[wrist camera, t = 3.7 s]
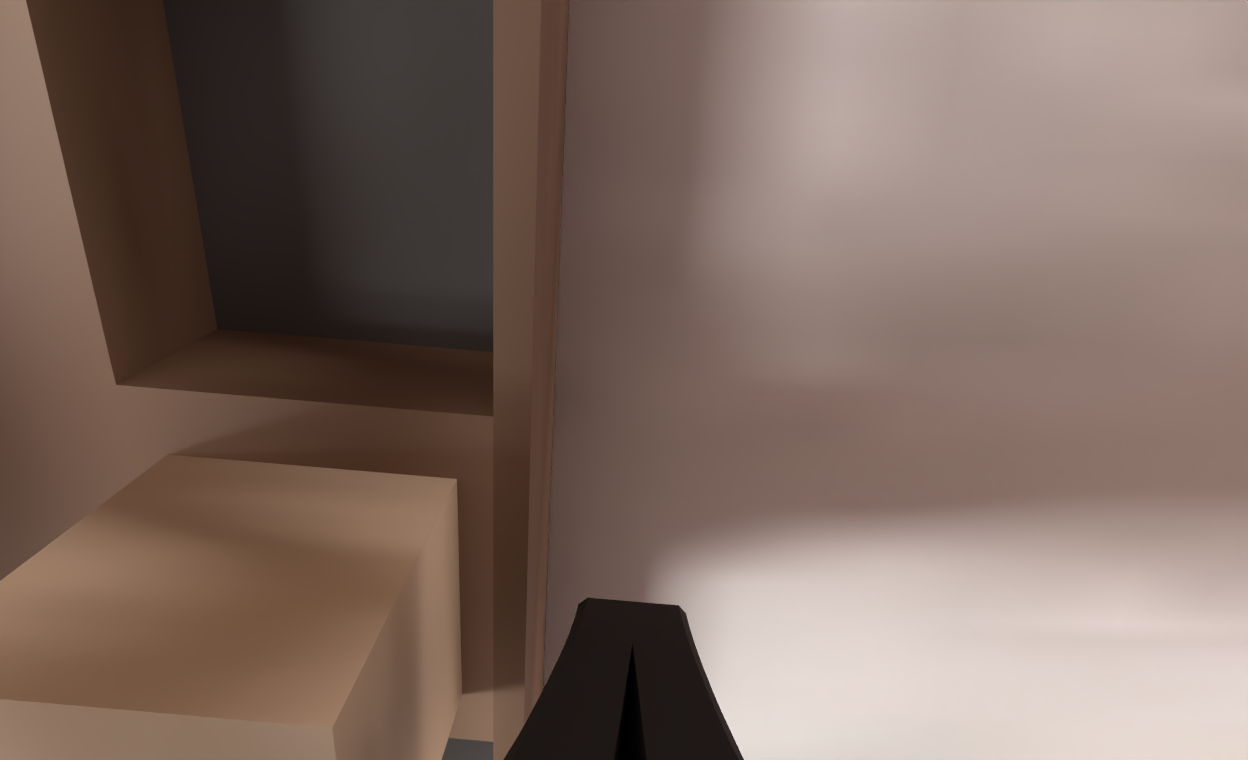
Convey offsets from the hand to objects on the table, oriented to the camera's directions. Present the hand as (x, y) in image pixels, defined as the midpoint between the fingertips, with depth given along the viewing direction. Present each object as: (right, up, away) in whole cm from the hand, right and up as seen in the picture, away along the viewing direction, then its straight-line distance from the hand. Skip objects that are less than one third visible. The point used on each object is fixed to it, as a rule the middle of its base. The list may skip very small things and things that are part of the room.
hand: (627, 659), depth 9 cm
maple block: (-4, +1, +1) cm, 5 cm away
